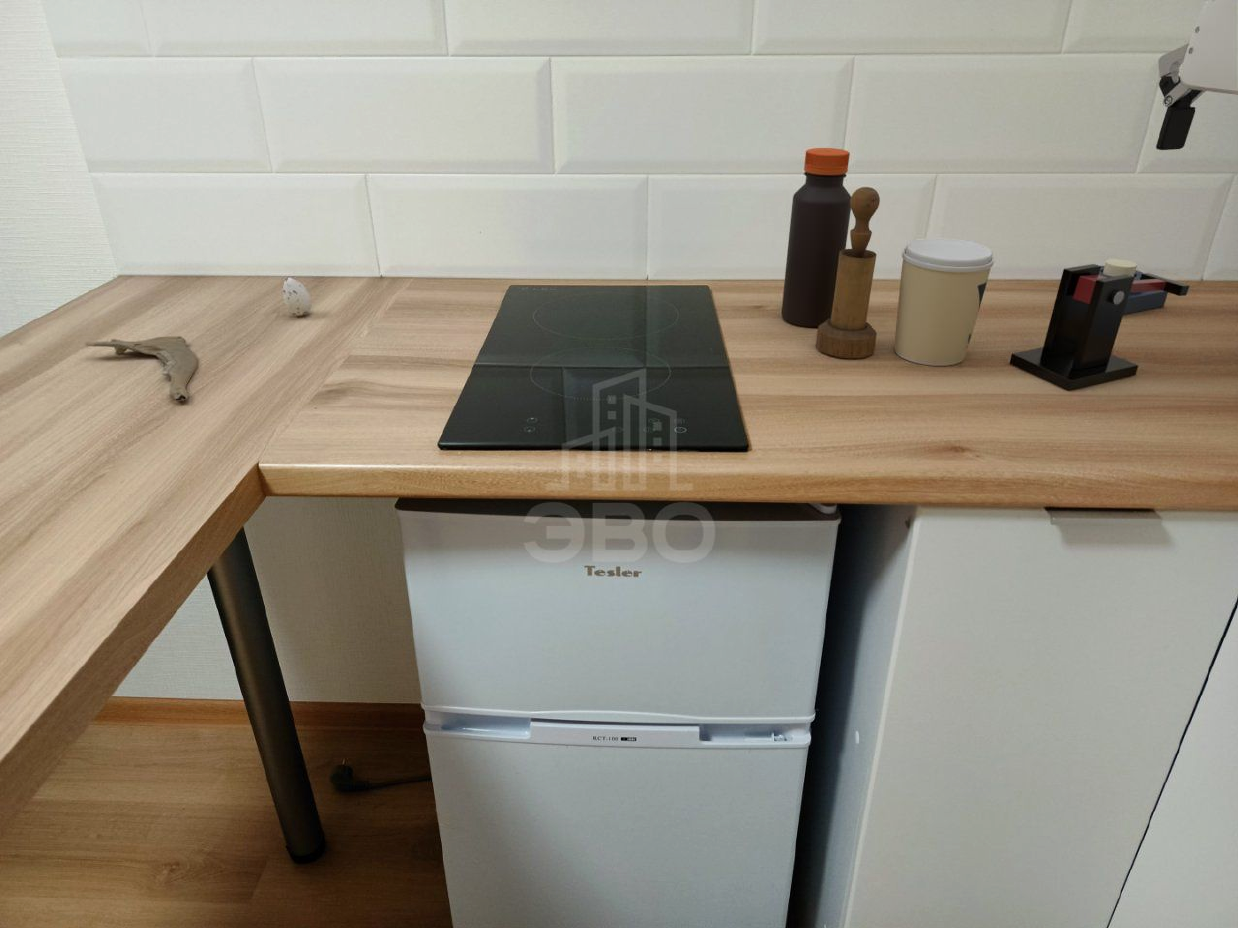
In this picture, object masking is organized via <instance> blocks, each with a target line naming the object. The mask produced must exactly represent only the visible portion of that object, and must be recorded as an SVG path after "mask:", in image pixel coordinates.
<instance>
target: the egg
mask: <svg viewBox="0 0 1238 928" xmlns="http://www.w3.org/2000/svg"><path fill="white" fill-rule="evenodd" d="M282 297H283V302H284V306H285V308H286V309H287V311H289V313H291V314H292V315H293V316H298V317H303V316H306V315H308V314H309V313H310V311H311V309H312V298H311V295H310V294H309V291H308V290H307V288H306V287H305V286H304V285H303V284H302V283H301V282H300V281H298V280H295V279H294V278H292V277H290V276H289V277H286V278H285V280H284V281H283V287H282Z"/></svg>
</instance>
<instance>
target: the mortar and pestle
mask: <svg viewBox="0 0 1238 928" xmlns="http://www.w3.org/2000/svg"><path fill="white" fill-rule="evenodd" d="M880 202H881V198H880V193H879V192H878V191H877V190H876V189H875V188H873V187H870V186H862V187H858V188H857V189H856V190H855V191H854V192H853V193H852V195H851V200H850V206H851V212H852V215H853V217H854V219H855V223H854V224H855V225H854V226H853V228H851V229H850V230H849V231H850V232H849V237H850V245H851V248H846V249H844V250H841V251H840V253H839V261H838V270H837V278H836V286H835V293H834V301H833V308H832V315H831V318H830V319H828V320H826V321H825V322H824V323H822V324H820V325H819V327H817V331H816V338H815V347H816V349H817V350H818V351H819V352H821V353H823V354H825V355H828V356H833V357H836V358H841V359H863V358H867V357H870V356H871V355H873V354H874V352H875V349H876V342H877V331H876V329H875V328H873V327H872V325H871V324H870V323H869V322H867V320H868V313H869V305H870V298H871V292H872V285H873V279H874V273H875V267H876V261H877V253H876V252H875V251H872V250H869V249H867V248H868V245H869V243H870V241H871V238H872V235H873V231H872V230H871V229H870V221H871V219H872V218H873V216H874V215H875V213H876V211H877V210H878V209H879V206H880Z"/></svg>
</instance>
